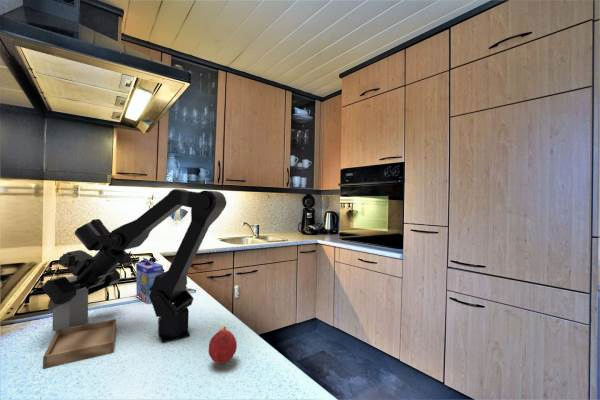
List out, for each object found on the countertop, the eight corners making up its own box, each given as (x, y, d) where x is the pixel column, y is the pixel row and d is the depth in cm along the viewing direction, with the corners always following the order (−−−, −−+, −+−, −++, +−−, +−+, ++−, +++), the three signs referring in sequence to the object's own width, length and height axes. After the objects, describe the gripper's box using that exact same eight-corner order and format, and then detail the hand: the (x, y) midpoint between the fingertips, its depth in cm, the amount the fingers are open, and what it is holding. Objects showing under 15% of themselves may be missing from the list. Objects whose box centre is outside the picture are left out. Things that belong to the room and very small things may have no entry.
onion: (237, 370, 57) (237, 331, 57) (207, 374, 56) (208, 334, 56) (235, 354, 63) (235, 319, 63) (208, 358, 61) (209, 322, 61)
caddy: (88, 322, 78) (88, 276, 78) (69, 332, 73) (69, 282, 72) (72, 321, 79) (72, 275, 79) (52, 330, 73) (52, 281, 73)
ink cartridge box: (134, 297, 98) (135, 256, 98) (151, 293, 102) (151, 254, 102) (146, 304, 92) (147, 260, 92) (163, 300, 96) (164, 258, 96)
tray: (116, 327, 75) (116, 318, 75) (113, 352, 63) (113, 341, 63) (57, 339, 69) (58, 329, 69) (42, 368, 57) (43, 357, 57)
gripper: (112, 236, 84) (79, 271, 86) (49, 247, 66) (8, 291, 67) (135, 263, 83) (102, 298, 85) (78, 282, 65) (36, 326, 66)
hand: (66, 302), depth 76 cm, fingers open, 9 cm apart
